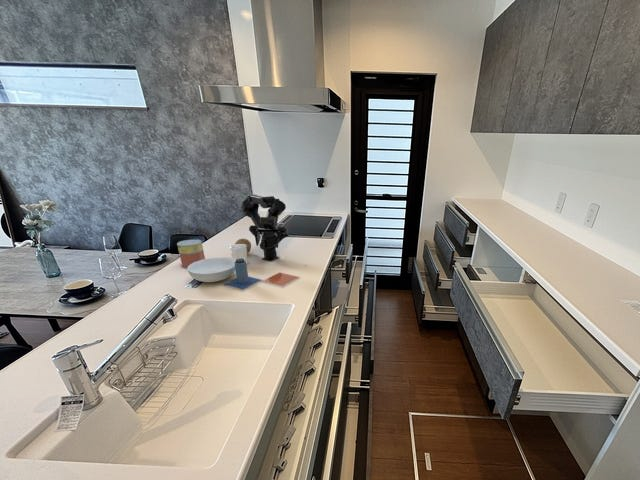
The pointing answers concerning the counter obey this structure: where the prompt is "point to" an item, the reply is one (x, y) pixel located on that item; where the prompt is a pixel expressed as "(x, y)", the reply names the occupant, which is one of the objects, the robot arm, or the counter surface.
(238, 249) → the white cup
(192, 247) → the canned food
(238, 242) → the natural sponge
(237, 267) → the blue mill
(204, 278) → the serving bowl
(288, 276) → the terracotta trivet
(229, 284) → the blue mat
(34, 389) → the counter surface
